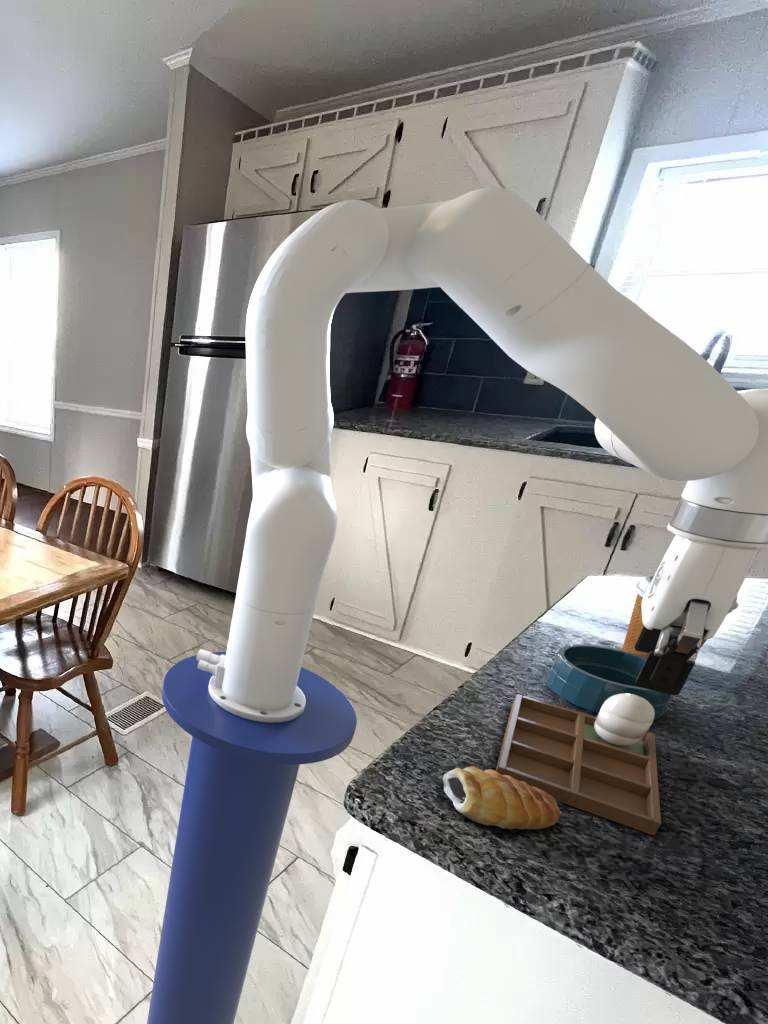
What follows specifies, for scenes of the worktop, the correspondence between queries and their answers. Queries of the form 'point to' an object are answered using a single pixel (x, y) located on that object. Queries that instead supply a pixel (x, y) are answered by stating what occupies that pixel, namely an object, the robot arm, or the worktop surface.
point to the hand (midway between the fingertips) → (654, 670)
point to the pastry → (499, 799)
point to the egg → (624, 719)
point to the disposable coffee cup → (637, 622)
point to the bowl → (600, 677)
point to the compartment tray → (581, 764)
